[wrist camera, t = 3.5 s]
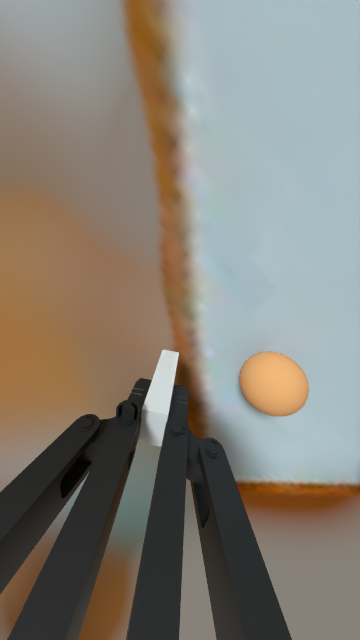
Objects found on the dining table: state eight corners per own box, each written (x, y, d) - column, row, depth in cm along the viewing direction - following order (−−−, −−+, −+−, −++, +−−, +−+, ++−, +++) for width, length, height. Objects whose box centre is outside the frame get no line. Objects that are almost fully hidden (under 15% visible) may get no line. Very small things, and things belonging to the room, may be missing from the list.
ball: (297, 347, 18) (339, 385, 12) (277, 389, 20) (306, 438, 14) (243, 336, 18) (262, 369, 13) (228, 379, 20) (239, 424, 15)
